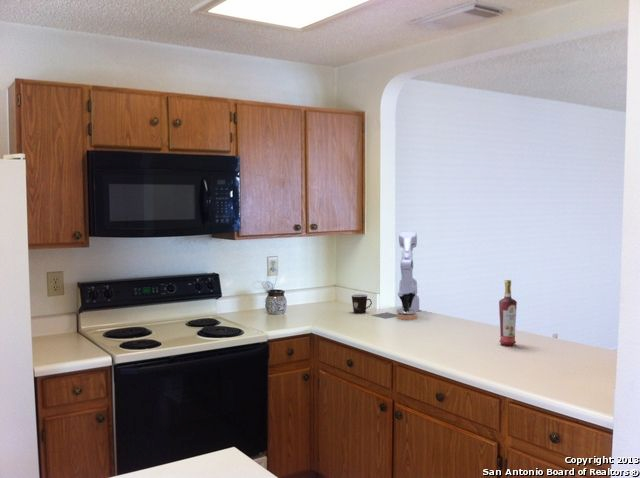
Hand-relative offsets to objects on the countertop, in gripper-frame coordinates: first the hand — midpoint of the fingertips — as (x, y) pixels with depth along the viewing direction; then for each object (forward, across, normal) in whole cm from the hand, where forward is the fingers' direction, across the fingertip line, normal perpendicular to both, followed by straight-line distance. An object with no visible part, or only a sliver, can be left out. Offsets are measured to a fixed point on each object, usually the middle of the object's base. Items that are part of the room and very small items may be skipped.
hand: (407, 308), depth 327 cm
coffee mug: (+6, +3, -28) cm, 28 cm away
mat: (+6, +1, -13) cm, 14 cm away
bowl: (+6, 0, 0) cm, 6 cm away
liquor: (+6, +21, +64) cm, 67 cm away
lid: (+2, 0, -1) cm, 2 cm away
